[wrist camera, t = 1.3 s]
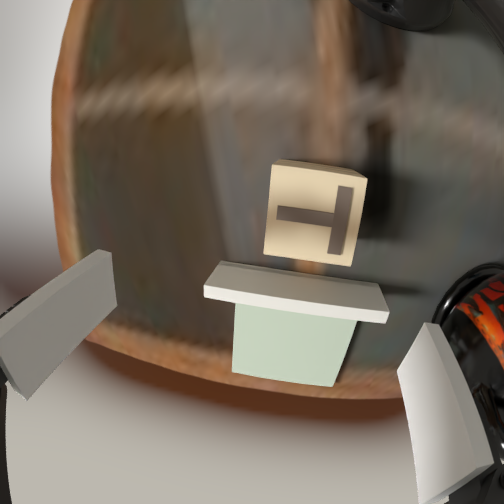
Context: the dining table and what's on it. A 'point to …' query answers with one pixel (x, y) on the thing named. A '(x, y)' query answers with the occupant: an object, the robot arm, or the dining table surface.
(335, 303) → the white slab
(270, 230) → the maple cube
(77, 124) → the dining table surface
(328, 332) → the display pad
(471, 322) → the amphora vase
